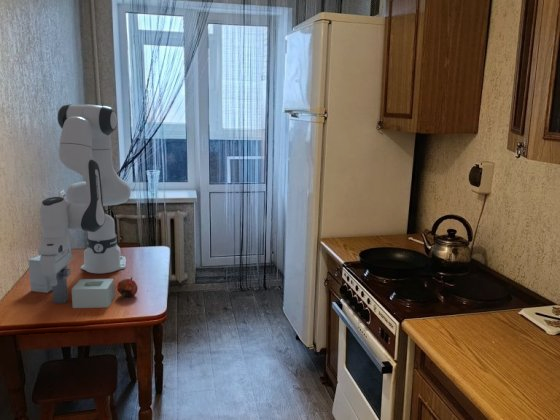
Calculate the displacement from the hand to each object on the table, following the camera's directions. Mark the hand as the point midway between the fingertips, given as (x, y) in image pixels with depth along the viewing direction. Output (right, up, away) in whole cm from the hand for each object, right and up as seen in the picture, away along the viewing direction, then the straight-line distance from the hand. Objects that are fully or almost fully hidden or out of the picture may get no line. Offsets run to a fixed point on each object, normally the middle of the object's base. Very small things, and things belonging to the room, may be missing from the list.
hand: (59, 280), depth 168 cm
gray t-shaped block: (0, -8, +2) cm, 8 cm away
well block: (+12, -8, +2) cm, 14 cm away
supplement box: (-12, -5, +14) cm, 19 cm away
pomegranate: (+22, -8, +8) cm, 24 cm away
